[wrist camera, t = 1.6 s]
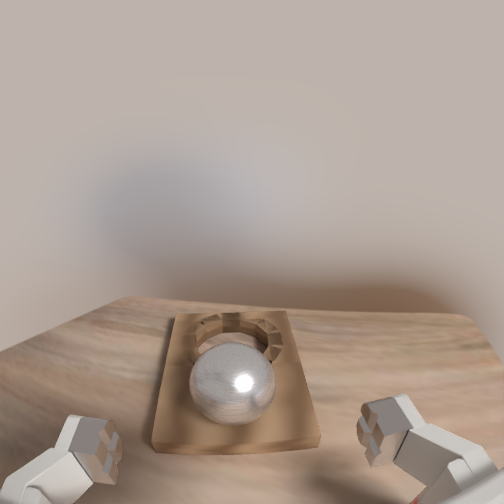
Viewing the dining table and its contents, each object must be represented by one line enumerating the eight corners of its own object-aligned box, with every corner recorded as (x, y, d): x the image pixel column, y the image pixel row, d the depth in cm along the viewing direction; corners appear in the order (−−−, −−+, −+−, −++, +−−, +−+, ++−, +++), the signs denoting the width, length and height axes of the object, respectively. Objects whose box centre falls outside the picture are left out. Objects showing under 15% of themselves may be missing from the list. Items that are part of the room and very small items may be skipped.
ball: (192, 441, 28) (179, 386, 25) (196, 383, 37) (188, 325, 33) (279, 438, 29) (285, 383, 25) (269, 380, 37) (272, 323, 34)
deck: (155, 452, 29) (150, 441, 28) (178, 325, 52) (176, 313, 51) (317, 447, 30) (321, 435, 29) (284, 322, 53) (285, 310, 52)
